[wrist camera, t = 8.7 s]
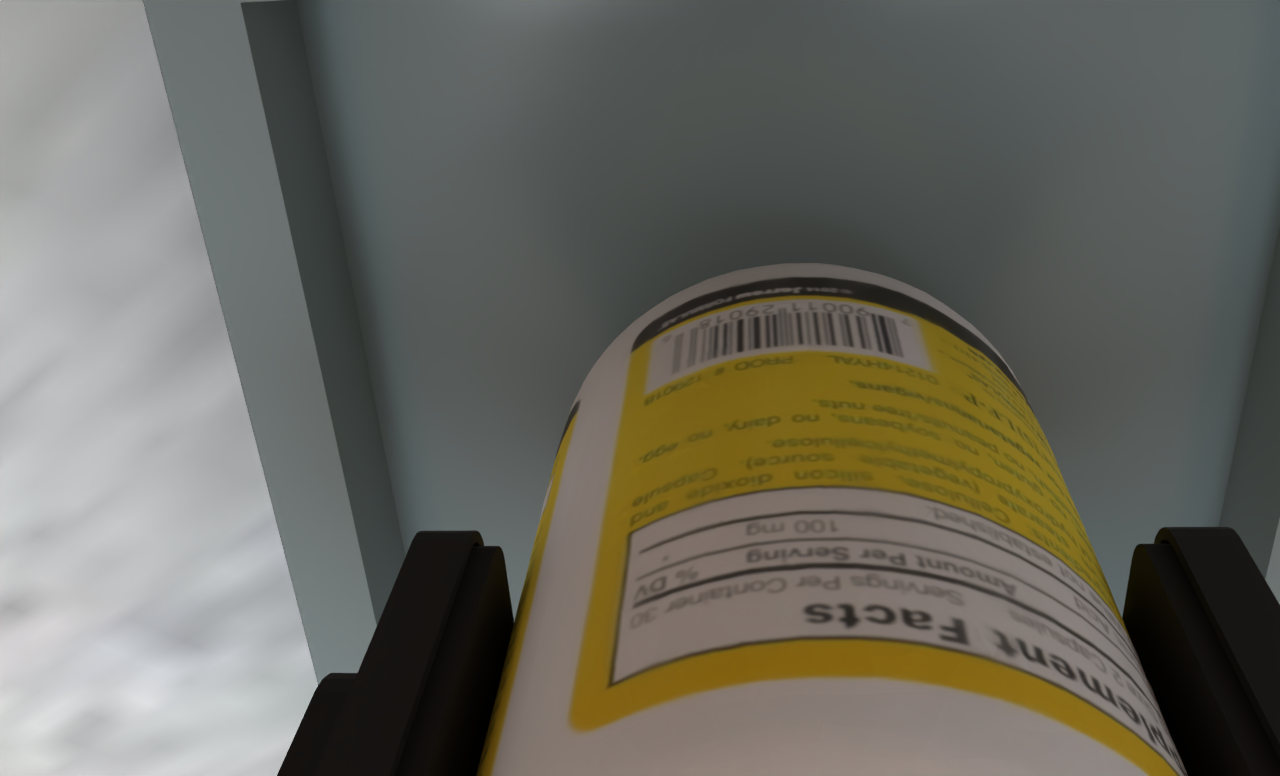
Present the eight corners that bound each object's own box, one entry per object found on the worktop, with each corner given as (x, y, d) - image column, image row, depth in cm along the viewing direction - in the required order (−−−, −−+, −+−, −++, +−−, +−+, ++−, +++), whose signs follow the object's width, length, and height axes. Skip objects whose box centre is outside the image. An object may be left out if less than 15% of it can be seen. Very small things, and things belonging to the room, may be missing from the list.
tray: (217, -128, 14) (117, -99, 12) (1424, -206, 12) (1565, -190, 10) (400, 716, 20) (358, 837, 18) (1216, 724, 19) (1277, 858, 17)
